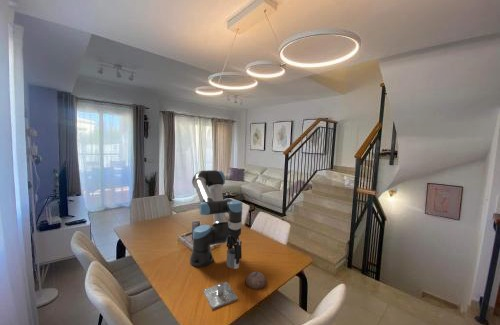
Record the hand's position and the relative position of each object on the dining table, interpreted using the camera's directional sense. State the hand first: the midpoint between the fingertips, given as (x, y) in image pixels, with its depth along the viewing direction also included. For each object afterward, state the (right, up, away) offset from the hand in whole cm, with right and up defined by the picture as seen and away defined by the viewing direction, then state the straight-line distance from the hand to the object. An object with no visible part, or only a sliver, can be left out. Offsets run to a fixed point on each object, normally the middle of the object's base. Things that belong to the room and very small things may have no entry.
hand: (233, 263), depth 123 cm
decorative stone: (+14, -10, -2) cm, 17 cm away
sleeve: (0, 0, 0) cm, 0 cm away
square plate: (-6, -10, -13) cm, 18 cm away
